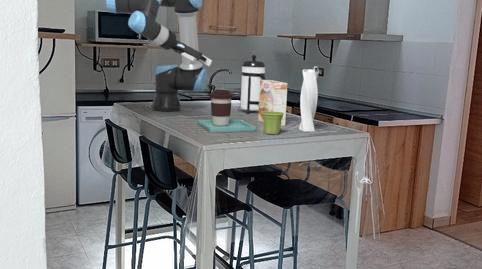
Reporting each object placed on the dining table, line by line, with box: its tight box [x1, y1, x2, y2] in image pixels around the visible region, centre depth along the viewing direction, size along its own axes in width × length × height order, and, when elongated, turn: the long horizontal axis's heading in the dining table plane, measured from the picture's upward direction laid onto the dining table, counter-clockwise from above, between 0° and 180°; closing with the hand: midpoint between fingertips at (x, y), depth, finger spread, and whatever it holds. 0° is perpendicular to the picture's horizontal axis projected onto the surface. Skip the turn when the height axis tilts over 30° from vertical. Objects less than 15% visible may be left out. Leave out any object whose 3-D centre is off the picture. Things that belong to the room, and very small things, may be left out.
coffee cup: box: [209, 89, 234, 126], centre depth 217 cm, size 10×10×15 cm
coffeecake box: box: [257, 79, 288, 127], centre depth 230 cm, size 15×7×20 cm, turn 23°
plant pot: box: [261, 111, 284, 135], centre depth 206 cm, size 9×9×9 cm
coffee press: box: [237, 54, 267, 114], centre depth 262 cm, size 17×16×30 cm
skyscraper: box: [296, 65, 320, 133], centre depth 213 cm, size 8×8×28 cm
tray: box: [197, 119, 257, 133], centre depth 215 cm, size 20×20×2 cm
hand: (201, 60), depth 217 cm, fingers open, 13 cm apart
